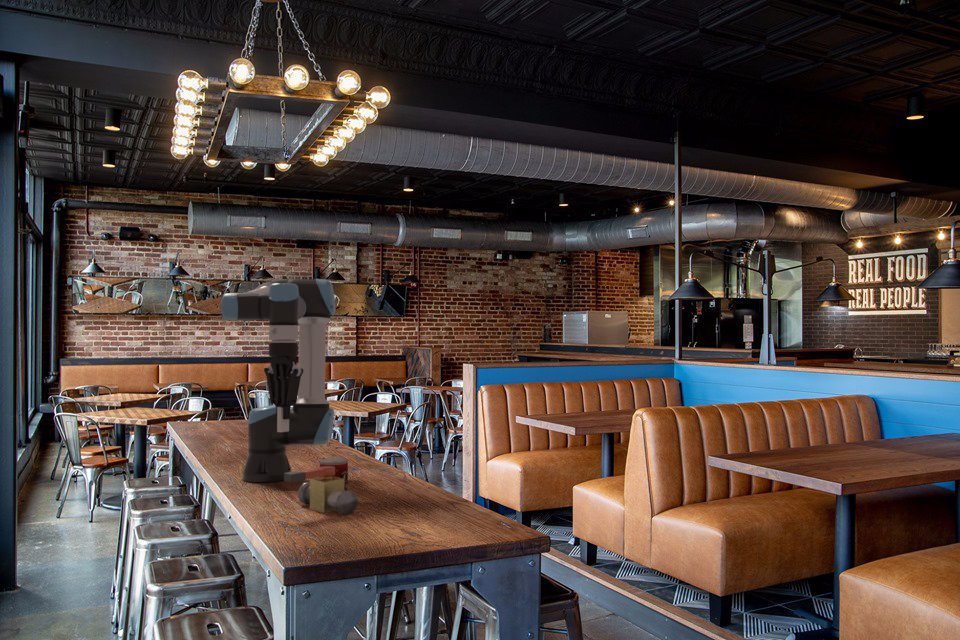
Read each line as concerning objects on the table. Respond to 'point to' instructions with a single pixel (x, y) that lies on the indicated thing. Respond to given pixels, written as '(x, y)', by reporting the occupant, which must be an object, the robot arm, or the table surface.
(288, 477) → the lever
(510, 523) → the table surface
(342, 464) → the canned food
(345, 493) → the valve pipe
